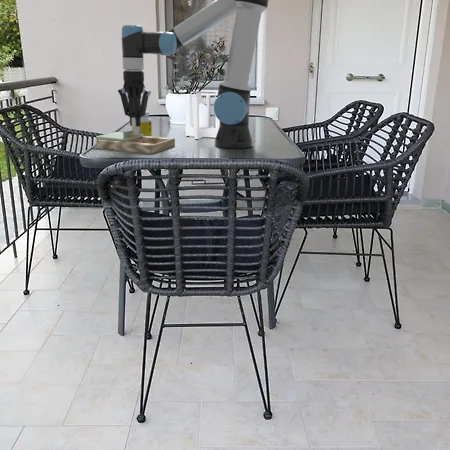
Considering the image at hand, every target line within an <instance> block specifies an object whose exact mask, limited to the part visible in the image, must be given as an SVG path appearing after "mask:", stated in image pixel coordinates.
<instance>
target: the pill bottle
mask: <svg viewBox="0 0 450 450" xmlns="http://www.w3.org/2000/svg"><path fill="white" fill-rule="evenodd" d="M149 116H150V112H149V111H147V110H146V113H145V116H142V117H141V118H140V120H141V125H140V126H139V129H141V134H143V136H152V137H153V133H152V132H153V131H152V118H150V117H149Z"/></svg>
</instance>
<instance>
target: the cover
mask: <svg viewBox="0 0 450 450" xmlns="http://www.w3.org/2000/svg"><path fill="white" fill-rule="evenodd" d="M139 137H143V134H141V129H139V135H132V129H129V130H124V131H123V132H121V131H114V132H110V133H105V134H101V135H97V136H95V139H96V140H98V139H105V140H115V141H128V140H132V139H135V138H139Z"/></svg>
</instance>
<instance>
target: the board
mask: <svg viewBox="0 0 450 450" xmlns="http://www.w3.org/2000/svg"><path fill="white" fill-rule="evenodd" d="M95 141H96V148H97V149H103V148H106V149H105V150H112V149H114V151H121V152H130V153H131V152H133V153H142V154H150V155H151V154H152V155H153V154H156V153H159V152H162V151H165V150H168V149H171V148H174V147H175V146H176V138H173V137H172V138H171V137H164V136H163V137H160V136H153V135H152V136H143V137H139V138H135V139H132V140H128V141H115V140H105V139H96V140H95Z"/></svg>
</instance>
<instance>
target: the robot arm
mask: <svg viewBox="0 0 450 450" xmlns="http://www.w3.org/2000/svg"><path fill="white" fill-rule="evenodd" d="M269 1H270V0H214V1H212V2H211V3H209V4H207V5H206V6H204V7H203V8H202V9H200V10H199V11H197V12H196V13H194V14H192V15H191V16H189V17H188V18H187V19H185V20H183V21H182V22H180V23H179V24H177V25H176V26H174V27H173V28H171V29H169V30H168V31H144V29H143V26H141V25H135V24H134V25H133V24H124V25H122V27H121V49H122V69H123V70H124V71H122V74H123V76H122V78H123V79H122V80H123V85H122V86H123V87H122V88H120V89H118V90H117V92H118V94H119V96H120V99H121V104H122V107H123V108H122V109H123V112H124V115H125V116H127V117H129V125H130V127H131V130H132V135H139V126H140V125H141V120H140V118H141V117H142V116H145V113H146V111H147V107H148V100H149V96H150V95H151V93H152V91H151V90H148V89H146V86H145V84H144V82H145V72H144V71H143V70H144V68H145V67H144V64H145V63H144V54H145V55H165V56H172V55H175V54H176V53H177V52H178V51H179V50H180V49H182V48H183V47H185V46H186V45H188V44H189V43H191V42H192V41H194V40H195V39H198V37H200V36H203V34H205V33H207V32H208V31H210V30H211V29H214V28H215V27H216V26H217V25H219V24H220V23H222V22H225V21H226V20H227V19H229V18H231V17H233V16H234V15H235V19H234V24H233V29H232V36H231V41H230V47H229V53H228V58H227V63H226V68H225V69H226V70H225V75H224V80H222V81H220V83H219V85H218V90H217V96H216V98H215V101H214V102H213V103H214V104H213V111H214V115H215V117H216V118H217V119H218V121H219V127H218V130H217V133H216V136H215V139H214V146H215V147H218V148H223V149H247V147H249V148H251V147H250V146H252V147H253V139H252V135H251V132H250V128H249V124H250V123H249V122H250V104H251V103H250V101H251V100H250V99H251V91H252V89H251V88H250V86H249V79H250V74H251V68H252V64H253V58H254V52H255V47H256V43H257V37H258V34H259V33H258V32H259V28H260V23H261V17H262V13H264V12H265V11H266V10H267V9H268V4H269Z"/></svg>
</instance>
